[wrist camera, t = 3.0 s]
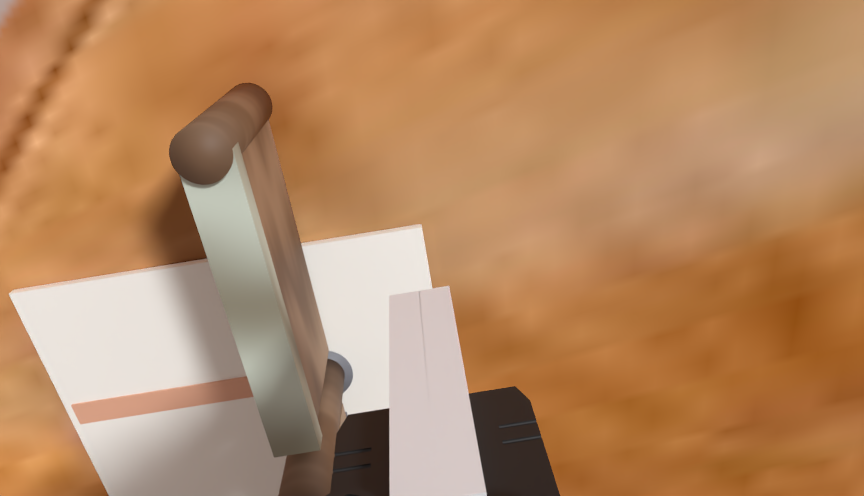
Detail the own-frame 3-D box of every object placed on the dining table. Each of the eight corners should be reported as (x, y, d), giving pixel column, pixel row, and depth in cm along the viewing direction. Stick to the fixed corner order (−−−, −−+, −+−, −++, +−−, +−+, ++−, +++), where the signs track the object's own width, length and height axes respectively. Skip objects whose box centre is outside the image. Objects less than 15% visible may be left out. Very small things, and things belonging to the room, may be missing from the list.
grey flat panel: (334, 349, 30) (319, 455, 24) (298, 354, 30) (272, 463, 24) (265, 79, 25) (221, 121, 18) (221, 86, 25) (160, 131, 18)
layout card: (465, 482, 36) (466, 489, 35) (133, 535, 36) (130, 542, 35) (421, 223, 29) (421, 227, 28) (13, 289, 29) (7, 294, 29)
